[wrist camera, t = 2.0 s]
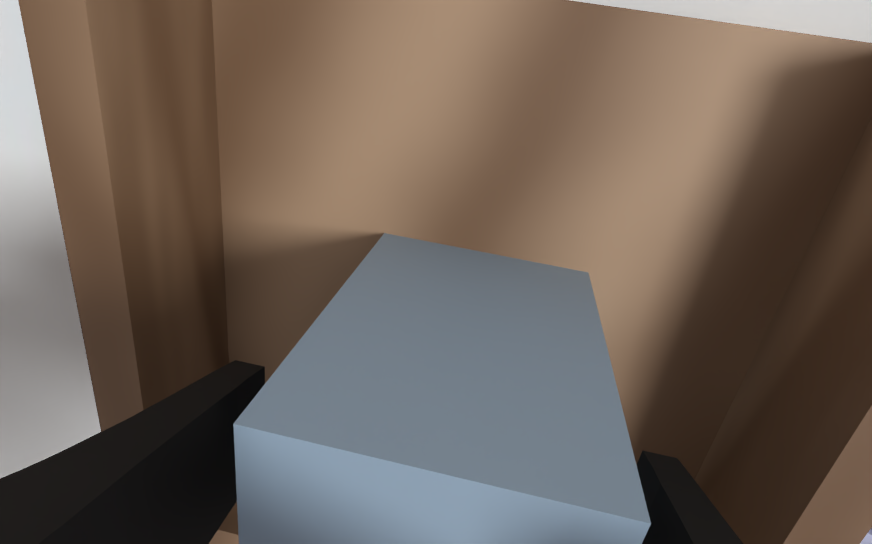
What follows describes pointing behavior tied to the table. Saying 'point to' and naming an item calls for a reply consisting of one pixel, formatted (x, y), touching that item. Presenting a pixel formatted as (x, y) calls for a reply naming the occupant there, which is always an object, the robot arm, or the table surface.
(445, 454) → the slate block
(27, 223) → the table surface
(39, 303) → the table surface
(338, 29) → the walnut crate
